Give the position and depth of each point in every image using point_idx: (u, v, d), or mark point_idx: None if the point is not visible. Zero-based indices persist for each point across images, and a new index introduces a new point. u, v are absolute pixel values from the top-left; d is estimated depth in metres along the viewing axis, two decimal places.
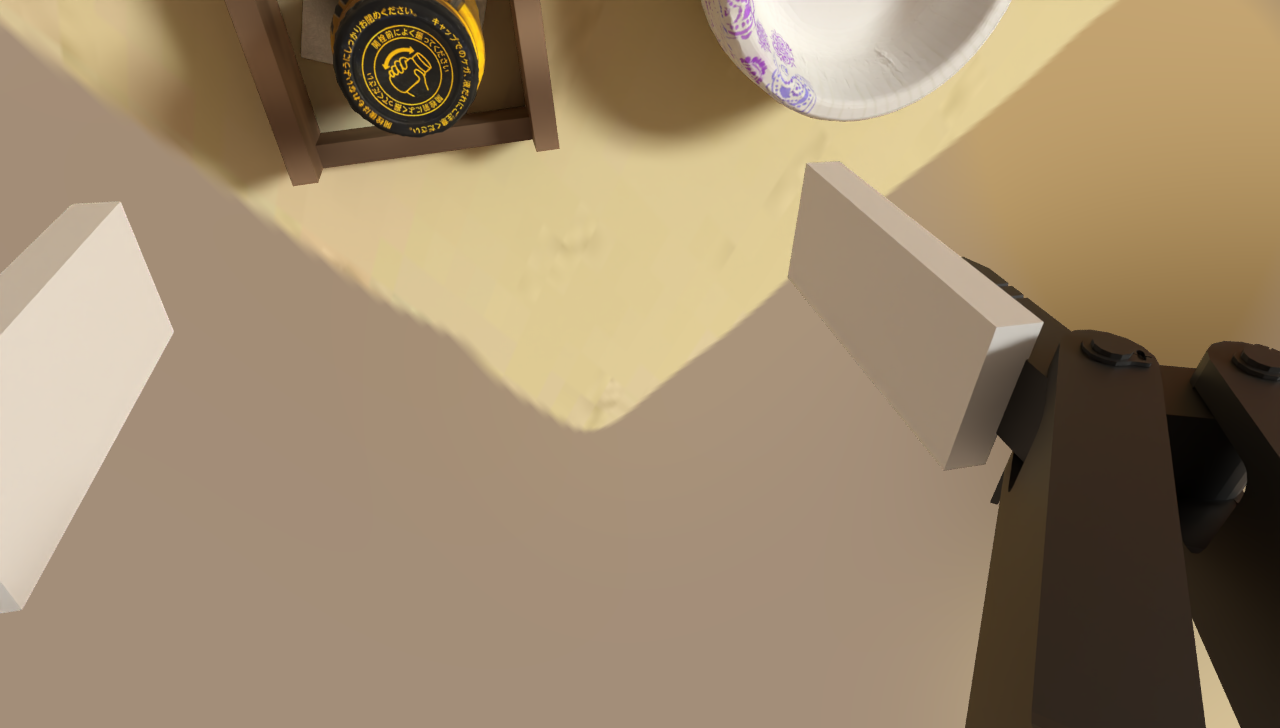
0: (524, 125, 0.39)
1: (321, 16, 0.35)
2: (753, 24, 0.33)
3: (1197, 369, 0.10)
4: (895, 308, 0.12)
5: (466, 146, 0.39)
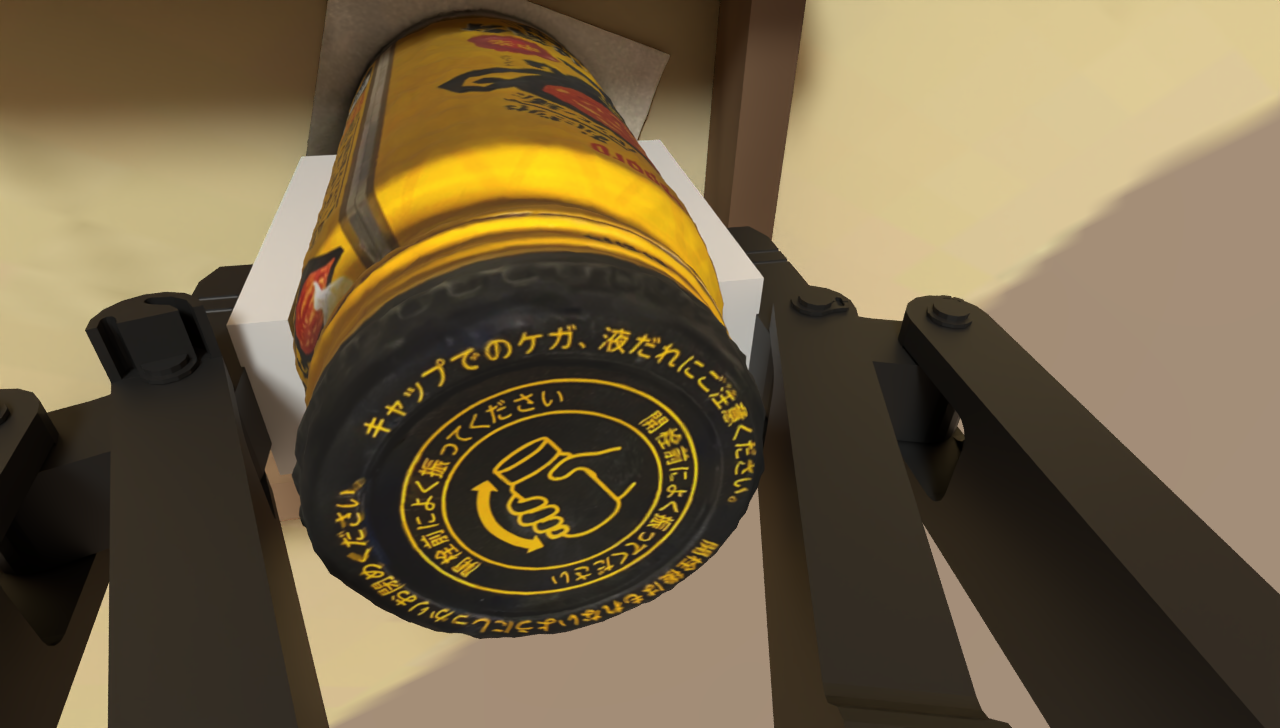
0: None
1: None
2: None
3: (902, 328, 0.11)
4: None
5: (786, 107, 0.16)
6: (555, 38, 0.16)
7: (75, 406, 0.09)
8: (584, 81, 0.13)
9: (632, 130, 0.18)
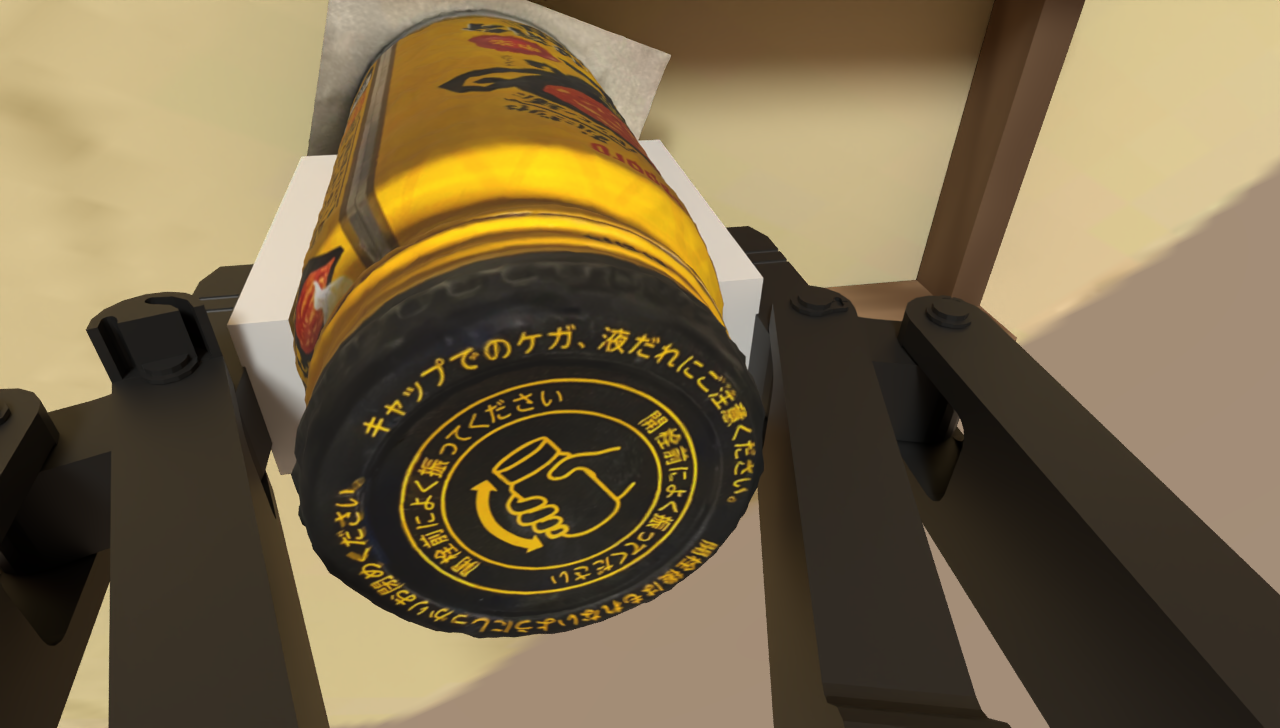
0: None
1: None
2: None
3: (901, 329, 0.11)
4: None
5: (1056, 73, 0.20)
6: (556, 38, 0.16)
7: (76, 406, 0.09)
8: (585, 81, 0.13)
9: (633, 130, 0.18)
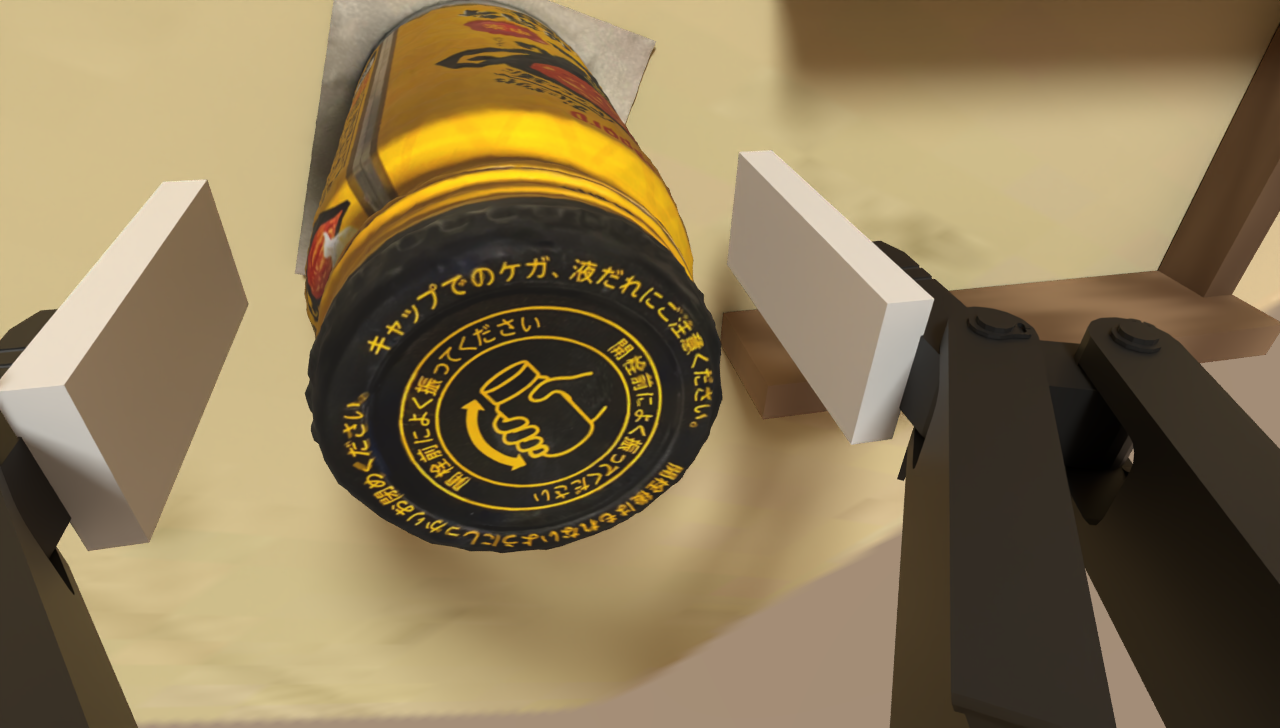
0: None
1: None
2: None
3: (1080, 346, 0.10)
4: (810, 289, 0.13)
5: None
6: (547, 25, 0.17)
7: None
8: (571, 62, 0.14)
9: (621, 113, 0.19)
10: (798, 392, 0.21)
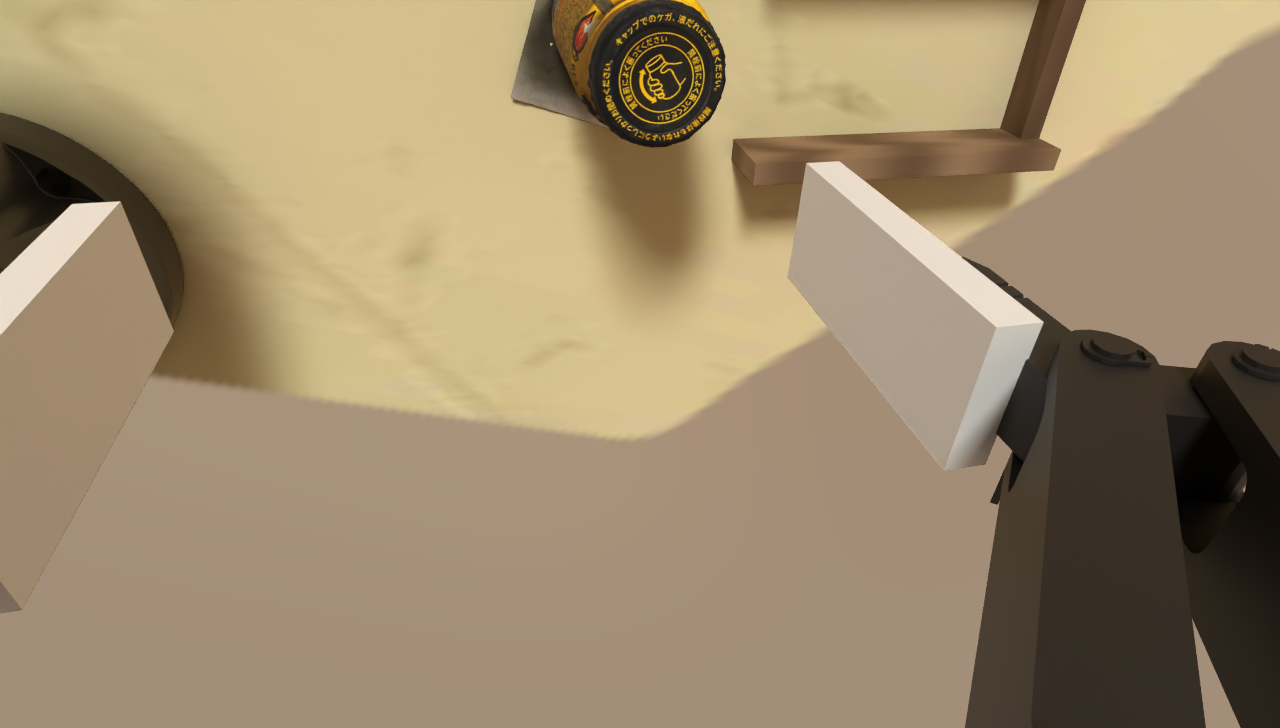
0: None
1: None
2: None
3: (1197, 369, 0.10)
4: (895, 308, 0.12)
5: None
6: None
7: None
8: None
9: None
10: (772, 169, 0.38)
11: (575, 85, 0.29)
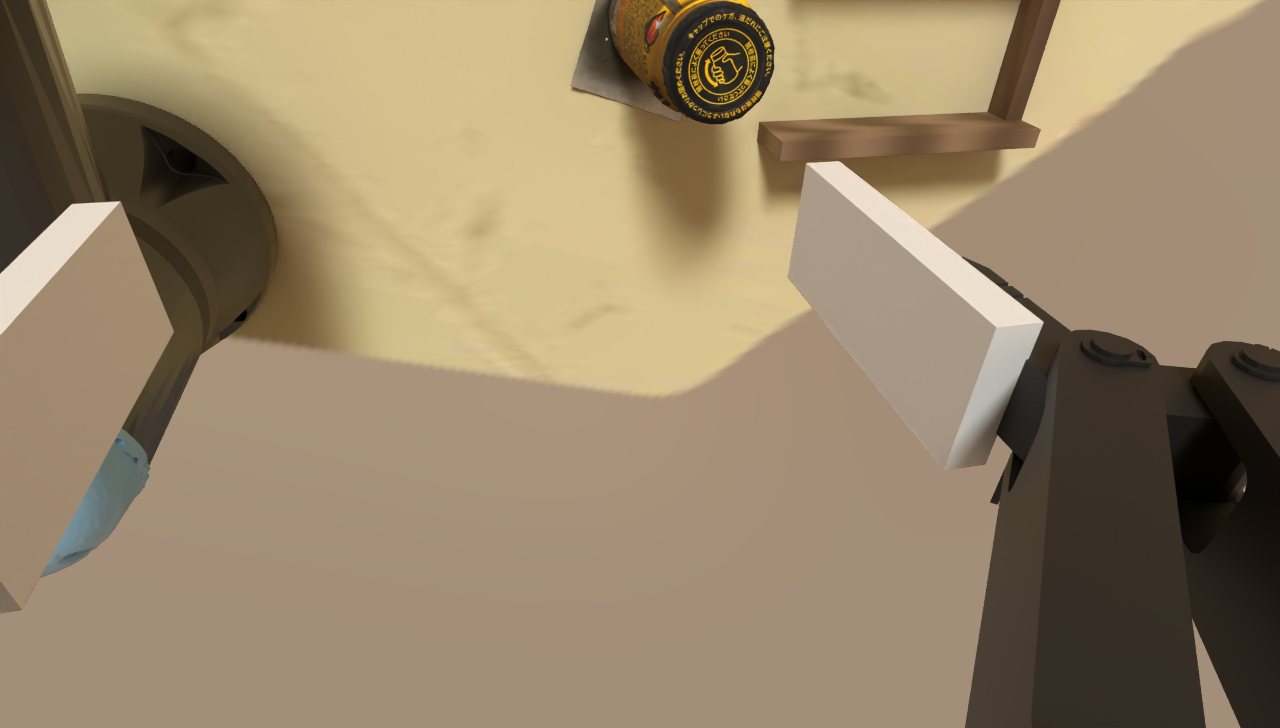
0: None
1: (653, 97, 0.44)
2: None
3: (1197, 369, 0.10)
4: (895, 308, 0.12)
5: None
6: None
7: None
8: None
9: None
10: (796, 147, 0.44)
11: (645, 73, 0.35)
